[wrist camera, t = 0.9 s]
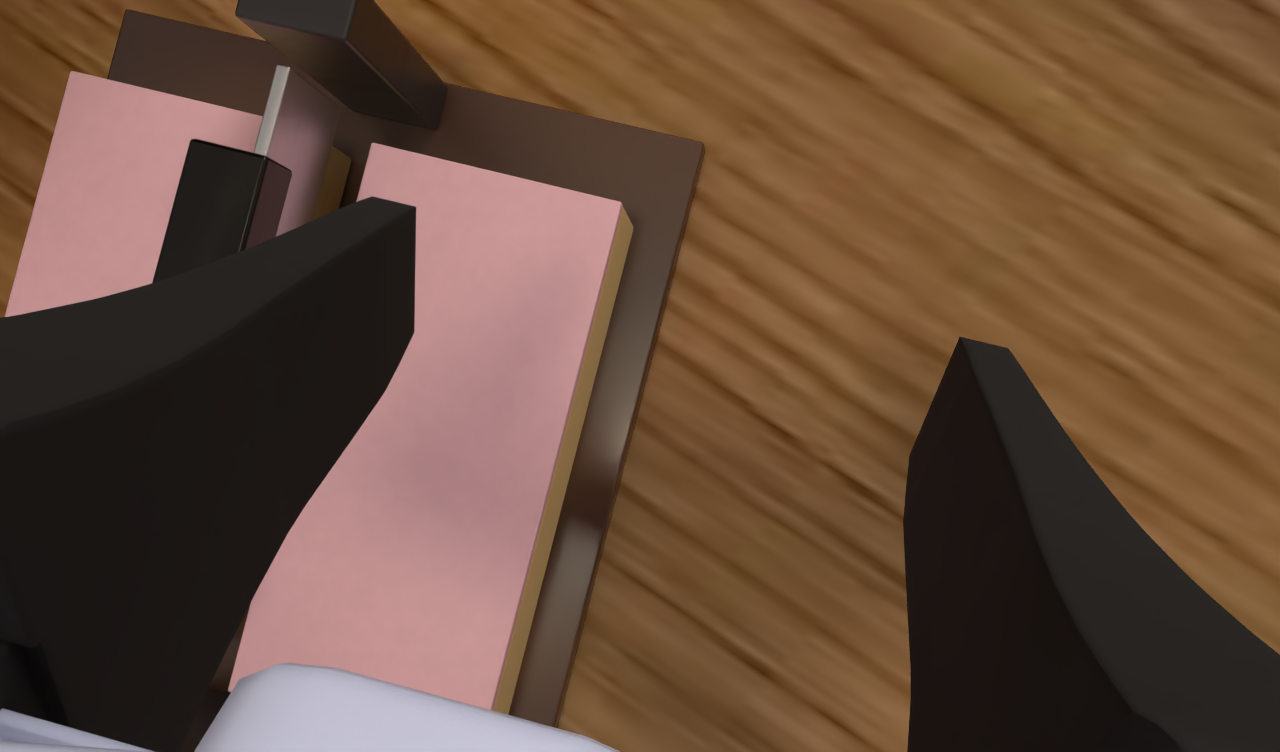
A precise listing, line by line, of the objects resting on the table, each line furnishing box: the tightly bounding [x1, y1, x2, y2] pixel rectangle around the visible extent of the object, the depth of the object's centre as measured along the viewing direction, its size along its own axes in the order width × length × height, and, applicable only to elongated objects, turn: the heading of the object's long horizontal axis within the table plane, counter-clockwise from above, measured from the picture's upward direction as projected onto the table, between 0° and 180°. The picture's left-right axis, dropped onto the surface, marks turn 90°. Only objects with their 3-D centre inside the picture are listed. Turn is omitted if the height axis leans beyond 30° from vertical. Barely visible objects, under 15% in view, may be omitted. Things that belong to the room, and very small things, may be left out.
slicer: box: [107, 0, 705, 752], centre depth 24 cm, size 18×16×7 cm
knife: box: [152, 65, 342, 283], centre depth 21 cm, size 14×2×4 cm, turn 166°
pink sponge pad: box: [5, 71, 633, 715], centre depth 25 cm, size 13×14×3 cm
